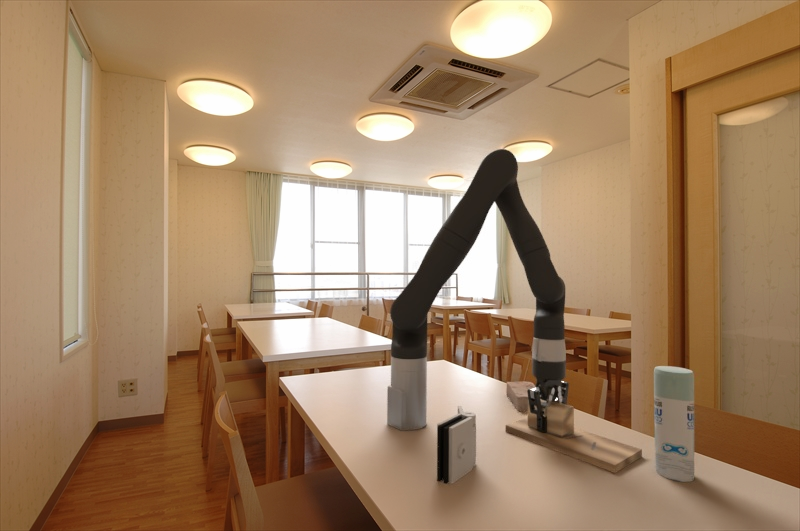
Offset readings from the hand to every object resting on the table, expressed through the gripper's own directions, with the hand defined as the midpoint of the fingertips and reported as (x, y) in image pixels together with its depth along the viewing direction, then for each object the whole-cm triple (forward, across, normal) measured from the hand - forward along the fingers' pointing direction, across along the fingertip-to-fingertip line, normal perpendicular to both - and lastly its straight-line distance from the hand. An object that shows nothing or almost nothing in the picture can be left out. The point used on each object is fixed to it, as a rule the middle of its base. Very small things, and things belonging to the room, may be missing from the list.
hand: (548, 428), depth 96 cm
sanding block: (0, 0, 0) cm, 0 cm away
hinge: (+2, +29, -2) cm, 29 cm away
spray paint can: (+2, -3, +25) cm, 25 cm away
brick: (+2, -18, -19) cm, 26 cm away
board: (+2, 0, +5) cm, 5 cm away
